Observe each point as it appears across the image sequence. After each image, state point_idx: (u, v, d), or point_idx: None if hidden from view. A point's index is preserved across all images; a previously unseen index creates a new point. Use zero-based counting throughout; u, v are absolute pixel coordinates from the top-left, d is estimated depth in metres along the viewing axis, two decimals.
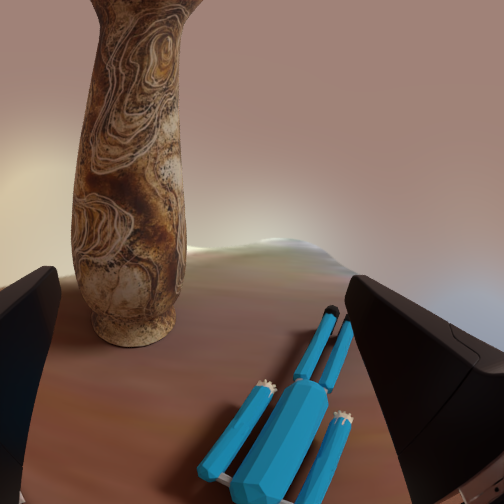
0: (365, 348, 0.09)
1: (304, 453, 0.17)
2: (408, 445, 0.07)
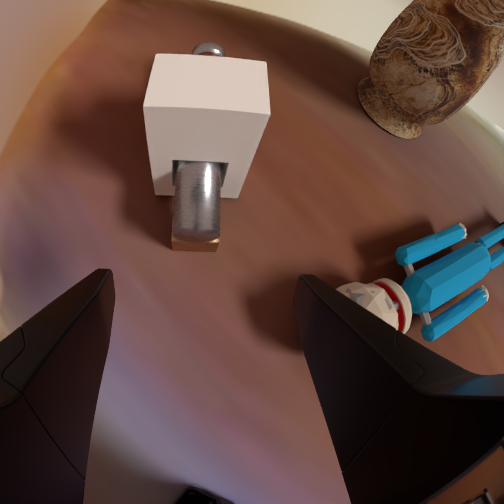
0: (309, 353, 0.08)
1: (458, 293, 0.22)
2: (350, 461, 0.06)
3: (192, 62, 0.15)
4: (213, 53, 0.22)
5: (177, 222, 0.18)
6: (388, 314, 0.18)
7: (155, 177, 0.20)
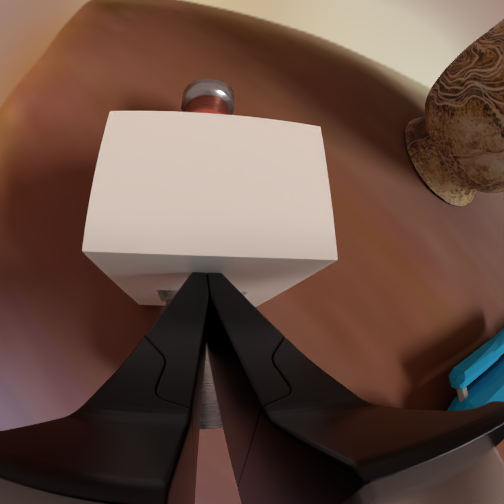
0: (210, 357, 0.08)
1: None
2: (240, 479, 0.06)
3: (179, 130, 0.08)
4: (216, 98, 0.15)
5: None
6: None
7: (135, 297, 0.13)
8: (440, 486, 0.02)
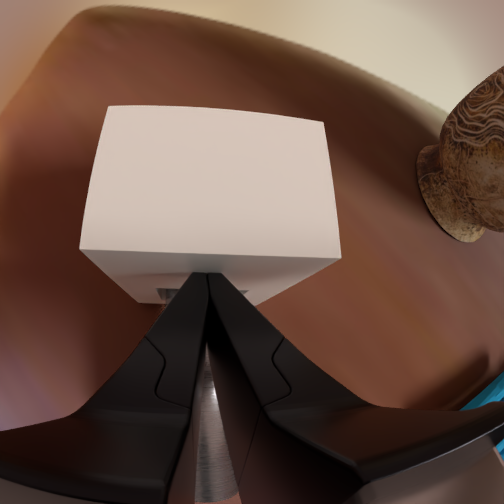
0: (210, 357, 0.08)
1: None
2: (240, 478, 0.06)
3: (178, 125, 0.08)
4: None
5: None
6: None
7: (134, 295, 0.13)
8: (440, 486, 0.02)
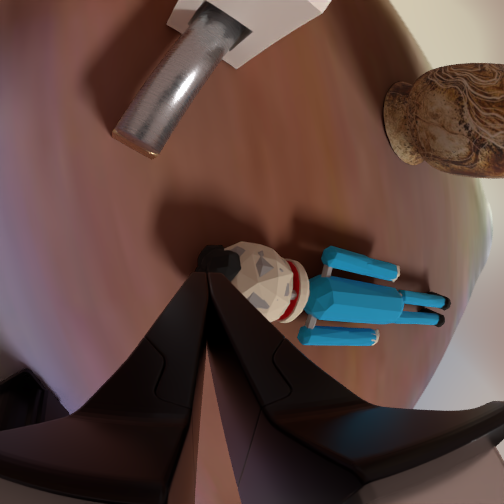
0: (210, 357, 0.08)
1: (353, 321, 0.25)
2: (239, 478, 0.06)
3: None
4: None
5: (124, 120, 0.14)
6: (281, 299, 0.19)
7: (177, 7, 0.15)
8: (440, 486, 0.02)
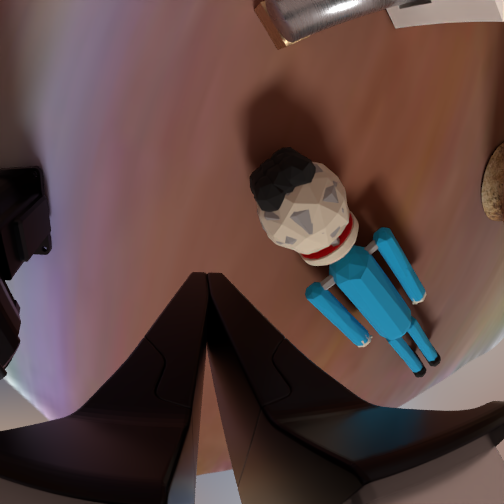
0: (210, 357, 0.08)
1: (360, 310, 0.24)
2: (240, 479, 0.06)
3: None
4: None
5: None
6: (325, 235, 0.18)
7: None
8: (440, 486, 0.02)
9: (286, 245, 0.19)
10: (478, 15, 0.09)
